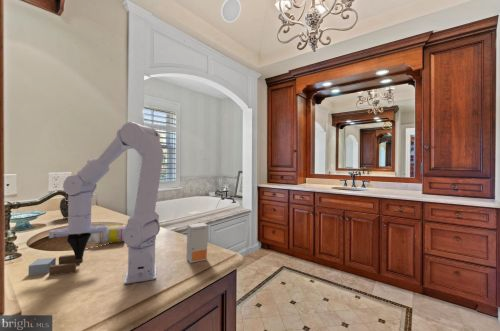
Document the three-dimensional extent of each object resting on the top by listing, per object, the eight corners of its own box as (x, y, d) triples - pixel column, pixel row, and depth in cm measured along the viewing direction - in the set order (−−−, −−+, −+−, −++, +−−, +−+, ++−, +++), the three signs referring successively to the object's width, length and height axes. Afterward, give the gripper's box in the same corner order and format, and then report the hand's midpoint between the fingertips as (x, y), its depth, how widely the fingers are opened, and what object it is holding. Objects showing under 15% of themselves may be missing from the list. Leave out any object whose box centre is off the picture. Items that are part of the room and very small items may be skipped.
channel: (75, 272, 67) (75, 263, 67) (49, 275, 64) (49, 267, 64) (82, 261, 74) (82, 253, 74) (59, 263, 72) (60, 256, 72)
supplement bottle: (126, 231, 98) (90, 235, 92) (126, 221, 94) (89, 223, 89) (125, 244, 93) (87, 248, 87) (125, 233, 89) (85, 237, 84)
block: (48, 274, 66) (48, 263, 66) (28, 276, 64) (28, 265, 64) (55, 267, 70) (55, 257, 70) (37, 269, 69) (37, 259, 68)
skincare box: (190, 263, 74) (191, 227, 74) (186, 259, 78) (187, 224, 78) (207, 260, 78) (208, 225, 77) (202, 255, 81) (203, 222, 81)
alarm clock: (77, 219, 124) (78, 189, 123) (65, 221, 119) (66, 190, 119) (69, 216, 129) (69, 188, 129) (57, 218, 125) (58, 189, 125)
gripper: (109, 210, 77) (109, 250, 77) (55, 213, 71) (55, 256, 71) (105, 214, 70) (104, 258, 70) (45, 218, 64) (45, 265, 65)
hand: (79, 258), depth 70 cm, fingers closed
